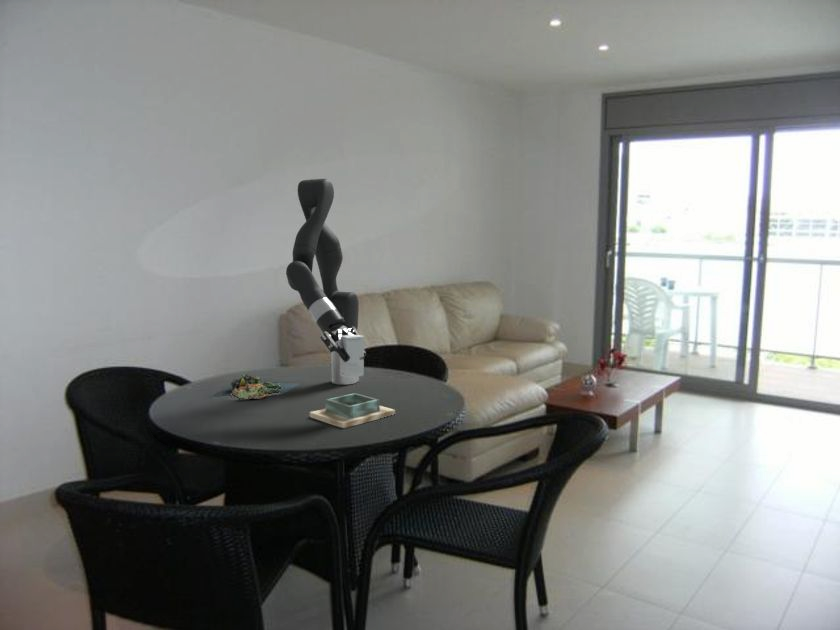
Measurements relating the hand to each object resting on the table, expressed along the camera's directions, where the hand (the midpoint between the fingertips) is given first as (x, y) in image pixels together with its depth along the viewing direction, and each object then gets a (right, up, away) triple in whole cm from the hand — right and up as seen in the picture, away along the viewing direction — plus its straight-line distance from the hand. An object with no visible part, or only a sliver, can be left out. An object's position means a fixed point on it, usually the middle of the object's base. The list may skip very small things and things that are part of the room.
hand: (356, 358), depth 197 cm
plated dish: (-38, -14, +32) cm, 52 cm away
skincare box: (-1, -6, +2) cm, 6 cm away
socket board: (-1, -18, +3) cm, 18 cm away
